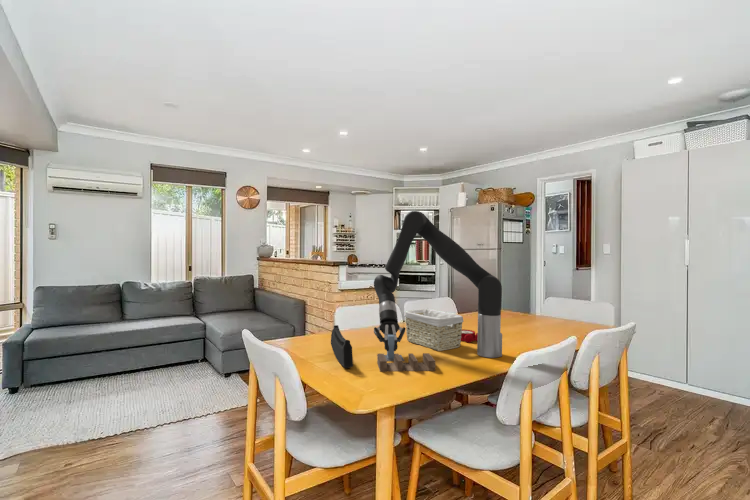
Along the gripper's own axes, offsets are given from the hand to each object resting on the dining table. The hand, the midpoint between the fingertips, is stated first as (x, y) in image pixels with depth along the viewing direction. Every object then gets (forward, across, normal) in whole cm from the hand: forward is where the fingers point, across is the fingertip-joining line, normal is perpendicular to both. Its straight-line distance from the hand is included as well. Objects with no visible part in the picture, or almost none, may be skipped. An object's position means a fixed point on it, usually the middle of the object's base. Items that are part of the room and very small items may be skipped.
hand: (391, 350), depth 155 cm
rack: (+10, +4, -4) cm, 11 cm away
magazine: (+1, -20, +5) cm, 20 cm away
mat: (+1, 0, +4) cm, 4 cm away
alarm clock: (-20, +42, +26) cm, 54 cm away
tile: (+1, 0, +4) cm, 4 cm away
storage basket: (-14, +23, +20) cm, 34 cm away
